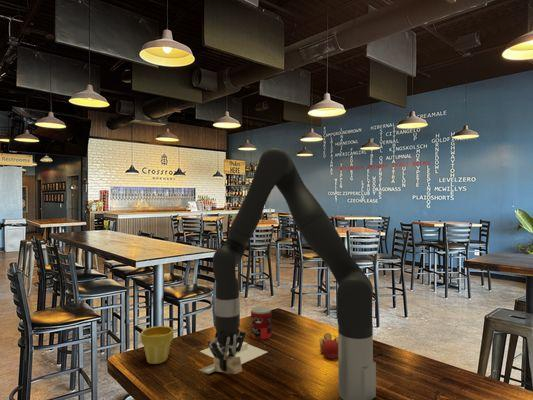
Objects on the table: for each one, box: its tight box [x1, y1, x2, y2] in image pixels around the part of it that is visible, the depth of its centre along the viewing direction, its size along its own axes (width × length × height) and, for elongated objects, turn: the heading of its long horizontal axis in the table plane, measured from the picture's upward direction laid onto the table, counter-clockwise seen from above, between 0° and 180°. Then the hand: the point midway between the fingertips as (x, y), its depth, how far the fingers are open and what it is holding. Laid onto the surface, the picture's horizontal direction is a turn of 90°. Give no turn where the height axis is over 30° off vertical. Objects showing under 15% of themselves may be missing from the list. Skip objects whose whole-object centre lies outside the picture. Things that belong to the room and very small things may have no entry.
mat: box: [199, 343, 268, 365], centre depth 128 cm, size 18×16×1 cm
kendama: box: [318, 332, 338, 360], centre depth 130 cm, size 8×6×18 cm
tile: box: [217, 341, 249, 356], centre depth 129 cm, size 2×10×9 cm
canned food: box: [250, 306, 272, 341], centre depth 142 cm, size 8×8×11 cm
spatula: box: [198, 356, 243, 375], centre depth 112 cm, size 17×7×4 cm, turn 46°
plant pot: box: [140, 325, 174, 365], centre depth 123 cm, size 10×10×10 cm
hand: (227, 368), depth 110 cm, fingers closed on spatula, 2 cm apart
